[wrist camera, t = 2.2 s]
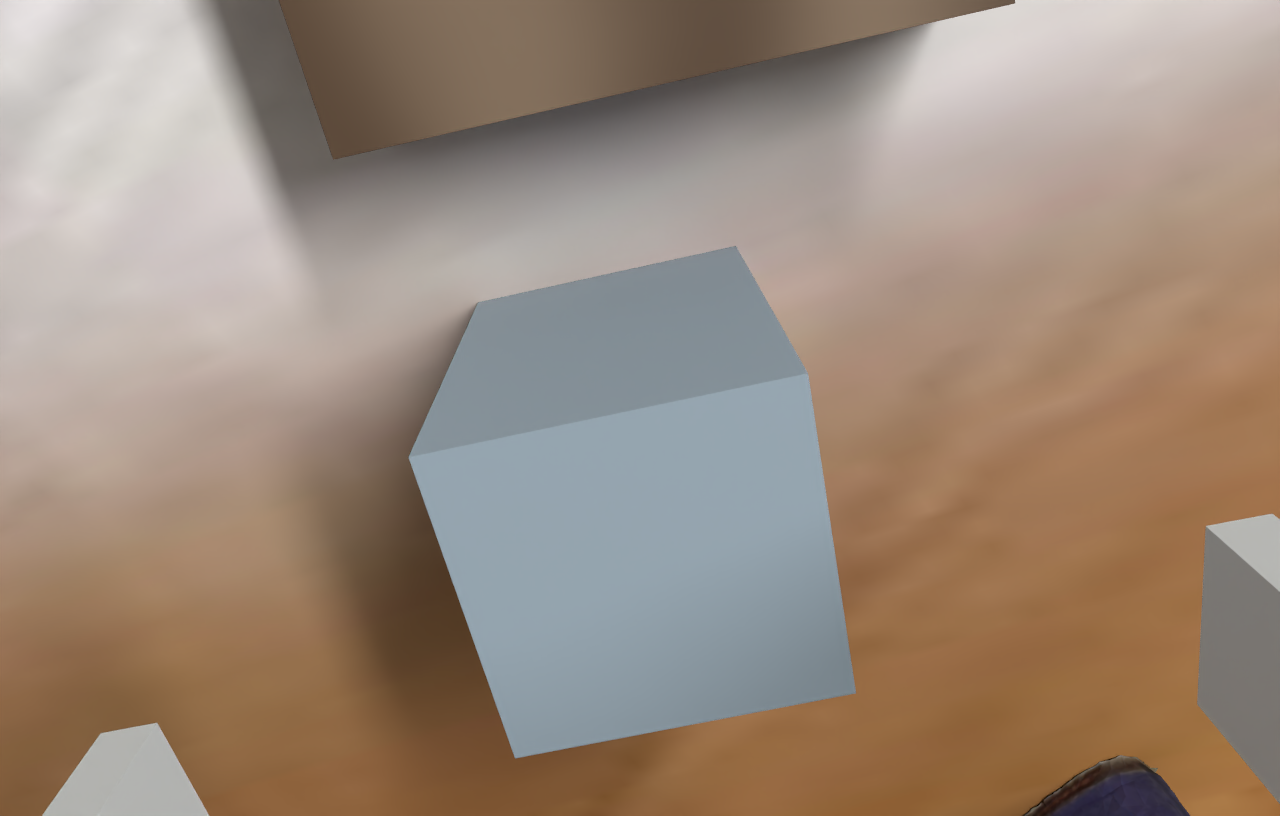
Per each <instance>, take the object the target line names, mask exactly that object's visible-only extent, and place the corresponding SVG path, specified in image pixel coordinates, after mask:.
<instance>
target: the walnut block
mask: <svg viewBox="0 0 1280 816" xmlns="http://www.w3.org/2000/svg"><path fill="white" fill-rule="evenodd" d="M279 2H280V5H281V8H282V11H283V14H284V17H285V20H286V23H287V26H288V29H289V31H290V34H291V37H292V40H293V43H294V46H295V49H296V52H297V55H298V58H299V61H300V64H301V67H302V69H303V72H304V75H305V78H306V81H307V84H308V87H309V90H310V93H311V96H312V99H313V102H314V105H315V108H316V110H317V113H318V116H319V119H320V122H321V125H322V128H323V131H324V134H325V137H326V140H327V143H328V146H329V148H330V151H331V154H332V157H333V160H334V159H338V158H342V157H347V156H351V155H356V154H360V153H364V152H369V151H373V150H377V149H382V148H386V147H390V146H395V145H399V144H404V143H408V142H412V141H417V140H421V139H425V138H430V137H434V136H438V135H443V134H447V133H452V132H456V131H460V130H465V129H469V128H473V127H478V126H482V125H486V124H491V123H495V122H499V121H504V120H508V119H513V118H517V117H521V116H526V115H530V114H534V113H539V112H543V111H547V110H552V109H556V108H561V107H565V106H569V105H574V104H578V103H582V102H587V101H591V100H595V99H600V98H604V97H609V96H613V95H617V94H622V93H626V92H630V91H635V90H639V89H643V88H648V87H652V86H656V85H661V84H665V83H670V82H674V81H678V80H683V79H687V78H691V77H696V76H700V75H704V74H709V73H713V72H718V71H722V70H726V69H731V68H735V67H739V66H744V65H748V64H752V63H757V62H761V61H766V60H770V59H774V58H779V57H783V56H787V55H792V54H796V53H800V52H805V51H809V50H813V49H818V48H822V47H827V46H831V45H835V44H840V43H844V42H848V41H853V40H857V39H861V38H866V37H870V36H875V35H879V34H883V33H888V32H892V31H896V30H901V29H905V28H909V27H914V26H918V25H923V24H927V23H931V22H936V21H940V20H944V19H949V18H953V17H957V16H962V15H966V14H970V13H975V12H979V11H984V10H988V9H992V8H997V7H1001V6H1005V5H1010V4H1014V3H1015V0H279Z"/></svg>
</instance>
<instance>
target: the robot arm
mask: <svg viewBox="0 0 1280 816" xmlns="http://www.w3.org/2000/svg"><path fill="white" fill-rule="evenodd" d="M1197 704H1198V706H1199V707H1200V708H1201V709H1202V711H1203V712H1204V713H1205V714H1206V715H1207V717H1208V718H1209V719H1210V720H1211V721H1212V723H1213V724H1214V725H1215V726H1216V727H1217V729H1218V730H1219V731H1220V732H1221V733H1222V735H1223V736H1224V737H1225V738H1226V739H1227V741H1228V742H1229V743H1230V744H1231V746H1232V747H1233V748H1234V749H1235V750H1236V752H1237V753H1238V754H1239V755H1240V756H1241V758H1242V759H1243V760H1244V761H1245V762H1246V764H1247V765H1248V766H1249V767H1250V768H1251V770H1252V771H1253V772H1254V773H1255V775H1256V776H1257V777H1258V778H1259V779H1260V781H1261V782H1262V783H1263V784H1264V785H1265V787H1266V788H1267V789H1268V790H1269V791H1270V793H1271V794H1272V795H1273V796H1274V797H1275V799H1276V800H1277V801H1278V802H1279V803H1280V519H1278V518H1277V517H1276V516H1275V515H1273V514H1268V515H1263V516H1257V517H1252V518H1247V519H1241V520H1236V521H1231V522H1225V523H1220V524H1215V525H1209V526H1206V533H1205V554H1204V575H1203V596H1202V617H1201V638H1200V658H1199V679H1198V700H1197ZM42 816H209V815H208V813H207V811H206V809H205V808H204V806H203V804H202V802H201V800H200V799H199V797H198V795H197V793H196V791H195V790H194V788H193V786H192V784H191V783H190V781H189V779H188V777H187V775H186V774H185V772H184V770H183V768H182V766H181V765H180V763H179V761H178V759H177V758H176V756H175V754H174V752H173V750H172V749H171V747H170V745H169V743H168V741H167V740H166V738H165V736H164V734H163V732H162V731H161V729H160V727H159V725H158V724H157V723H153V724H148V725H143V726H137V727H132V728H127V729H121V730H116V731H111V732H105V733H101V734H100V735H99V736H98V738H97V739H96V741H95V742H94V743H93V745H92V746H91V748H90V749H89V750H88V752H87V753H86V755H85V756H84V758H83V759H82V760H81V762H80V763H79V765H78V766H77V767H76V769H75V770H74V772H73V773H72V774H71V776H70V777H69V779H68V780H67V781H66V783H65V784H64V786H63V787H62V788H61V790H60V791H59V793H58V794H57V795H56V797H55V798H54V800H53V801H52V802H51V804H50V805H49V807H48V808H47V809H46V811H45V812H44V814H43V815H42Z"/></svg>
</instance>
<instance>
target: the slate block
mask: <svg viewBox="0 0 1280 816" xmlns="http://www.w3.org/2000/svg"><path fill="white" fill-rule="evenodd" d="M409 460H410V463H411V466H412V469H413V472H414V474H415V477H416V480H417V483H418V486H419V489H420V491H421V494H422V497H423V500H424V503H425V505H426V508H427V511H428V514H429V517H430V520H431V522H432V525H433V528H434V531H435V534H436V537H437V539H438V542H439V545H440V548H441V551H442V553H443V556H444V559H445V562H446V565H447V568H448V570H449V573H450V576H451V579H452V582H453V585H454V587H455V590H456V593H457V596H458V599H459V601H460V604H461V607H462V610H463V613H464V616H465V618H466V621H467V624H468V627H469V630H470V632H471V635H472V638H473V641H474V644H475V647H476V649H477V652H478V655H479V658H480V661H481V664H482V666H483V669H484V672H485V675H486V678H487V680H488V683H489V686H490V689H491V692H492V695H493V697H494V700H495V703H496V706H497V709H498V712H499V714H500V717H501V720H502V723H503V726H504V728H505V731H506V734H507V737H508V740H509V743H510V745H511V748H512V751H513V754H514V757H515V758H519V757H525V756H530V755H535V754H540V753H546V752H551V751H556V750H561V749H567V748H572V747H577V746H582V745H587V744H593V743H598V742H603V741H608V740H614V739H619V738H624V737H629V736H635V735H640V734H645V733H650V732H656V731H661V730H666V729H671V728H676V727H682V726H687V725H692V724H697V723H703V722H708V721H713V720H718V719H724V718H729V717H734V716H739V715H744V714H750V713H755V712H760V711H765V710H771V709H776V708H781V707H786V706H792V705H797V704H802V703H807V702H813V701H818V700H823V699H828V698H833V697H839V696H844V695H849V694H854V693H856V691H855V684H854V677H853V671H852V664H851V657H850V651H849V644H848V637H847V631H846V624H845V617H844V611H843V604H842V597H841V591H840V584H839V577H838V571H837V564H836V557H835V551H834V544H833V537H832V531H831V524H830V517H829V511H828V504H827V497H826V491H825V484H824V478H823V471H822V464H821V458H820V451H819V444H818V438H817V431H816V424H815V418H814V411H813V404H812V398H811V391H810V384H809V378H808V373H807V371H806V369H805V367H804V366H803V364H802V362H801V360H800V359H799V357H798V355H797V353H796V352H795V350H794V348H793V346H792V344H791V343H790V341H789V339H788V337H787V336H786V334H785V332H784V330H783V329H782V327H781V325H780V323H779V321H778V320H777V318H776V316H775V314H774V313H773V311H772V309H771V307H770V306H769V304H768V302H767V300H766V298H765V297H764V295H763V293H762V291H761V290H760V288H759V286H758V284H757V283H756V281H755V279H754V277H753V276H752V274H751V272H750V270H749V268H748V267H747V265H746V263H745V261H744V260H743V258H742V256H741V254H740V253H739V251H738V249H737V247H736V246H734V247H729V248H725V249H720V250H716V251H711V252H706V253H702V254H697V255H693V256H688V257H684V258H679V259H674V260H670V261H665V262H661V263H656V264H652V265H647V266H642V267H638V268H633V269H629V270H624V271H620V272H615V273H610V274H606V275H601V276H597V277H592V278H588V279H583V280H578V281H574V282H569V283H565V284H560V285H556V286H551V287H546V288H542V289H537V290H533V291H528V292H524V293H519V294H514V295H510V296H505V297H501V298H496V299H492V300H487V301H482V302H478V304H477V306H476V308H475V311H474V313H473V315H472V317H471V320H470V322H469V324H468V326H467V328H466V331H465V333H464V335H463V337H462V340H461V342H460V344H459V346H458V348H457V351H456V353H455V355H454V357H453V359H452V362H451V364H450V366H449V368H448V371H447V373H446V375H445V377H444V379H443V382H442V384H441V386H440V388H439V391H438V393H437V395H436V397H435V399H434V402H433V404H432V406H431V408H430V411H429V413H428V415H427V417H426V419H425V422H424V424H423V426H422V428H421V431H420V433H419V435H418V437H417V439H416V442H415V444H414V446H413V448H412V451H411V453H410V455H409Z"/></svg>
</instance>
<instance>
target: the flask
mask: <svg viewBox="0 0 1280 816" xmlns="http://www.w3.org/2000/svg"><path fill="white" fill-rule="evenodd" d="M1157 769H1158V768H1150V767H1149V766H1148V765H1146V764H1144V762H1142V761H1141V760H1139V759H1138V758H1137V757H1126V756H1122V755H1121V756H1118V757H1116V758H1114V759H1111V760H1108V761H1102V762H1099V763H1098V764H1097V765H1096V766H1094V767H1092V768H1090V769H1088V770H1086V771H1084V772H1083V773H1081V774H1079V775H1077V776H1076V777H1074V779H1073V780H1071V781H1069V782H1068V783H1066V785H1064V786H1063V787H1062V788H1060V789H1059V790H1058V791H1057V792H1054V793H1053V795H1050V796H1048V797H1047V798H1046V799H1044V803H1041V804H1040V805H1039V806H1037V807H1034V808H1032V809H1031V811H1030V812H1029V813H1027V814H1026V815H1025V816H1190V815H1189V813H1188V812H1187V811H1186V809H1185V808H1184V807H1183V806H1182V804H1181V803H1180V802H1179V800H1178V798H1177V797H1176V795H1175V793H1174V792H1173V791H1172V790H1171V789H1170V787H1169V786H1168V785H1167V783H1166V782H1165V781H1164V780H1163V779H1162V777H1161V776H1159V775H1158V774H1157V773H1155V772H1156V771H1157Z"/></svg>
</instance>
